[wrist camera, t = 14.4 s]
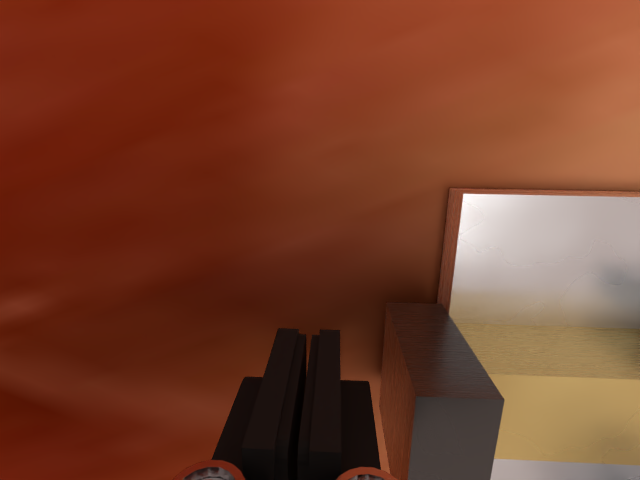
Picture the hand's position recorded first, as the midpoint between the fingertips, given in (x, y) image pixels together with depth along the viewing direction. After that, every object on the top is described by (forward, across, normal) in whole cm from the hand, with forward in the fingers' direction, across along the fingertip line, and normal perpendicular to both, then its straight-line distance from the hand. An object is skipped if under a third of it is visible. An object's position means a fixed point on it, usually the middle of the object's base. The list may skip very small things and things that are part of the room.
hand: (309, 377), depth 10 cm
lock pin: (+1, -8, 0) cm, 8 cm away
